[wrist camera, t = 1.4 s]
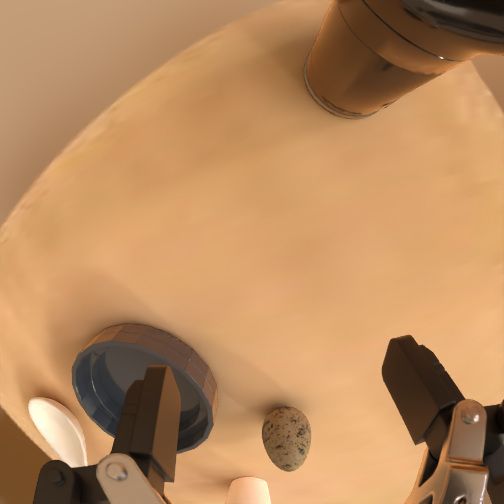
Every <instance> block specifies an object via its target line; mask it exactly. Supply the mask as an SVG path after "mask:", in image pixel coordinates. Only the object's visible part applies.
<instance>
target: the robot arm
mask: <svg viewBox="0 0 504 504" xmlns="http://www.w3.org/2000/svg"><path fill="white" fill-rule="evenodd" d="M480 54H491V55H502V56H504V0H332V3H331V5H330V7H329V10H328V12H327V15H326V17H325V19H324V22H323V24H322V26H321V29H320V31H319V34H318V36H317V38H316V41H315V43H314V45H313V48H312V50H311V52H310V54H309V55H308V57H307V60H306V62H305V66H304V79H305V83H306V86H307V88H308V90H309V92H310V94H311V95H312V97H313V98H314V99H315V100H316V101H317V103H319V104H320V105H321V106H322V107H323V108H324V109H326V110H327V111H329V112H331V113H333V114H335V115H337V116H340V117H344V118H349V119H360V118H365V117H368V116H371V115H372V114H374V113H376V112H377V111H379V110H380V109H381V108H382V107H384V106H386V105H388V104H390V103H391V102H393V101H394V102H395V100H398V98H401V97H402V96H404V95H405V94H407V93H409V92H411V91H412V90H414V89H416V88H418V87H420V86H421V85H423V84H425V83H427V82H429V81H430V80H432V79H434V78H436V77H438V76H440V75H442V74H443V73H445V72H447V71H449V70H450V69H452V68H454V67H456V66H458V65H460V64H462V63H464V62H466V61H468V60H470V59H471V58H473V57H476V56H478V55H480ZM391 104H392V103H391ZM388 106H389V105H388ZM385 108H386V107H385ZM382 377H383V380H384V383H385V385H386V386H387V388H388V390H389V392H390V394H391V396H392V398H393V400H394V402H395V404H396V406H397V408H398V410H399V412H400V414H401V416H402V419H403V421H404V423H405V425H406V427H407V429H408V431H409V433H410V435H411V437H412V439H413V442H414V444H415V445H417V444H420V443H422V442H426V444H427V447H426V449H425V452H424V456H423V459H422V463H421V466H420V469H419V472H418V476H417V479H416V482H415V485H414V487H413V490H412V492H411V494H410V495H409V497H408V498H407V500H406V501H405V503H404V504H483V501H484V497H485V492H486V489H487V492H488V494H489V497H490V500H491V502H492V504H504V400H503V401H502V403H501V404H497V405H491V406H484V407H483V406H482V405H481V404H480V403H479V402H477V401H475V400H470V399H467V400H466V399H465V398H464V396H463V395H462V393H461V392H460V390H459V389H458V387H457V386H456V384H455V383H454V382H453V380H452V379H451V377H450V376H449V374H448V373H447V371H445V369H444V367H443V366H442V364H441V363H439V360H438V359H437V357H436V356H435V354H434V353H433V352H432V351H431V350H429V349H428V348H426V347H425V346H423V345H418V344H417V342H416V341H415V340H414V338H413V337H412V336H411V335H405V336H401V337H397V338H393V339H391V340H390V342H389V345H388V348H387V352H386V355H385V359H384V362H383V365H382ZM180 411H181V397H180V392H179V389H178V387H177V384H176V381H175V379H174V376H173V373H172V370H171V368H170V366H169V365H152V366H148V367H147V369H146V373H145V377H144V380H135V381H134V382H133V384H132V385H131V386H130V387H129V389H128V390H127V393H126V397H125V400H124V405H123V408H122V411H121V412H122V414H121V415H120V419H119V423H118V427H117V431H116V435H115V439H114V443H113V447H112V451H111V453H110V454H109V455H107V456H105V457H104V458H103V459H101V461H100V462H99V463H98V464H96V465H91V466H83V467H73V468H71V467H70V466H69V465H68V464H67V463H65V462H64V461H61V460H52V461H49V462H47V463H46V464H45V465H44V466H43V467H42V469H41V471H40V474H39V478H38V482H37V487H36V491H35V496H34V500H33V504H172V502H171V501H170V500H169V499H168V497H167V496H166V495H165V493H164V482H174V477H175V464H176V452H177V441H178V430H179V420H180Z"/></svg>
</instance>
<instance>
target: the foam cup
mask: <svg viewBox="0 0 504 504" xmlns="http://www.w3.org/2000/svg"><path fill="white" fill-rule="evenodd" d="M225 504H271V500H270V496H269V491H268V486H267V483H266V482H265V481H264V480H262V479H259V478H256V477H241V478H238V479H235V480H233V481H232V483H231V486H230V488H229V492H228V495H227V499H226V502H225Z"/></svg>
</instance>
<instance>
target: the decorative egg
mask: <svg viewBox="0 0 504 504" xmlns="http://www.w3.org/2000/svg"><path fill="white" fill-rule="evenodd" d="M262 439H263V443H264V447H265V449H266V452H267V454H268V456H269V458H270V459H271V461H272V462H273V463H274V464H275V465H276V466H277V467H278V468H280V469H281V470H284V471H288V472H290V471H294V470H296V469H298V468H299V467H300V466H301V465H302V464H303V462H304V461H305V459H306V457H307V454H308V451H309V448H310V443H311V428H310V424H309V422H308V419H307V418H306V416H305V415H304V414H303V413H302V412H301V411H299V410H297V409H295V408H292V407H281V408H278V409H275V410H274V411H272V412H271V413H270V414H269V415H268V416H267V417H266V419H265V421H264V424H263V427H262Z"/></svg>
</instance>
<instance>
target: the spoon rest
mask: <svg viewBox="0 0 504 504" xmlns="http://www.w3.org/2000/svg"><path fill="white" fill-rule="evenodd" d="M28 410H29V414H30V416H31V418H32V420H33V422H34V424H35V426H36V427H37V429H38V430H39V432H40V433H41V434H42V436H43V437H44V438H45V440H46V441H47V442H48V444H49V445H50V446H51V447H52V449H53V450H54V451H55V452H56V454H57V455H58V456H59V457H60V459H61V460H62V461H64V462H65V463H67V464H68V465H69V466H70V467H71V468H73V467H83V466H88V464H87V454H86V444H85V437H84V433H83V430H82V427H81V425H80V423H79V421H78V420H77V418H76V417H75V416H74V414H73V413H72V412H71V411H69V410H68V409H67V408H66V407H65V406H63V405H62V404H60V403H59V402H57V401H55V400H52V399H49V398H44V397H34V398H32V399H31V400H30V401H29V403H28Z"/></svg>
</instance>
